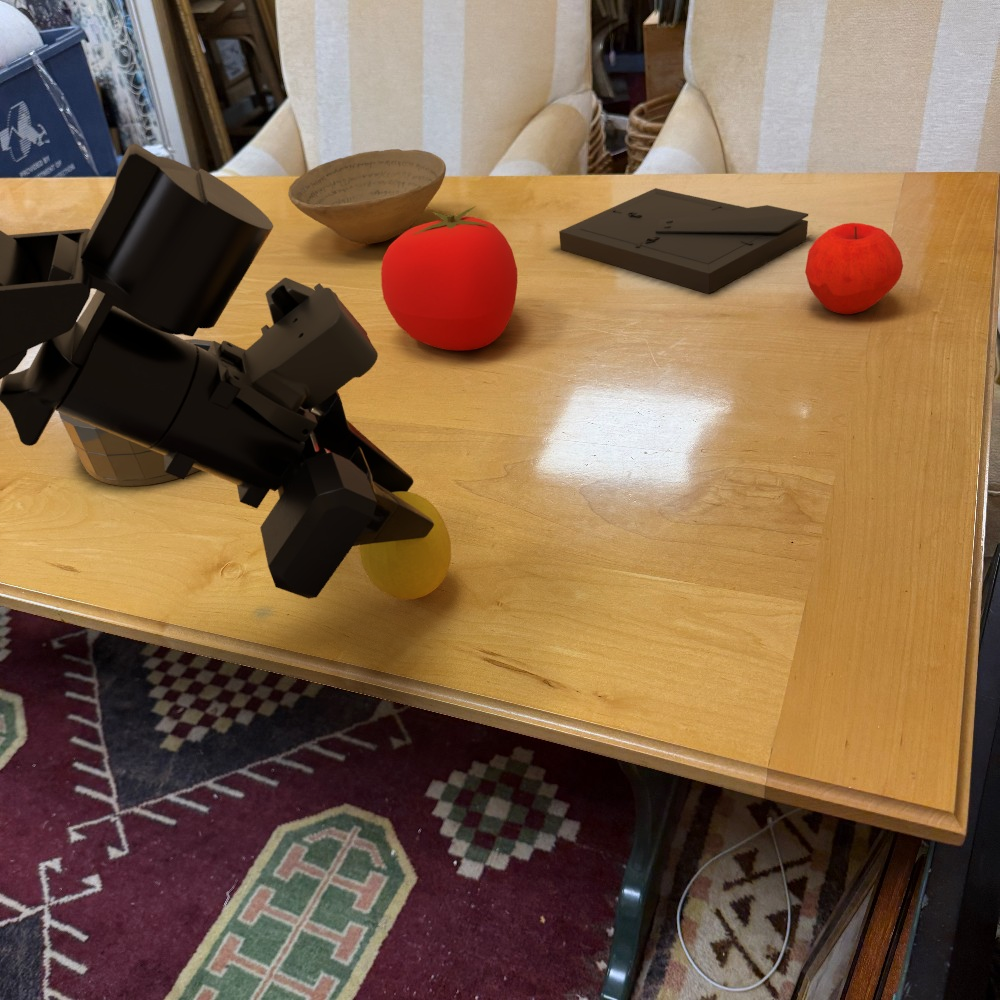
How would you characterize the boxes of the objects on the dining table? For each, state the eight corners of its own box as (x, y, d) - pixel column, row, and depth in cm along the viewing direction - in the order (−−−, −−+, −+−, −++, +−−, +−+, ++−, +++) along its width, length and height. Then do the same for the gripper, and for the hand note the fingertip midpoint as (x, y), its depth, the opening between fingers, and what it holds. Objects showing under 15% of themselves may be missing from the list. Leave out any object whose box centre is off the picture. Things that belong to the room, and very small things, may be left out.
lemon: (474, 575, 59) (455, 475, 54) (433, 634, 55) (410, 531, 50) (401, 559, 61) (377, 461, 56) (357, 614, 57) (327, 514, 52)
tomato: (428, 385, 80) (404, 261, 73) (378, 329, 90) (352, 216, 84) (552, 343, 83) (539, 221, 77) (490, 294, 94) (474, 183, 87)
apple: (915, 306, 80) (928, 225, 76) (851, 336, 78) (861, 253, 73) (844, 280, 86) (853, 203, 82) (782, 307, 83) (788, 228, 79)
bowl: (353, 282, 101) (337, 211, 96) (278, 246, 113) (260, 182, 108) (484, 229, 109) (474, 162, 104) (400, 201, 121) (388, 140, 117)
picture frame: (806, 240, 95) (655, 205, 109) (808, 213, 93) (655, 181, 107) (709, 294, 88) (560, 249, 101) (709, 266, 86) (558, 224, 100)
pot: (70, 502, 72) (40, 444, 69) (98, 412, 84) (74, 359, 80) (254, 462, 73) (233, 404, 70) (256, 380, 85) (239, 326, 82)
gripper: (276, 338, 36) (557, 484, 45) (233, 207, 51) (452, 336, 59) (145, 549, 39) (431, 647, 48) (140, 368, 54) (360, 468, 63)
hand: (419, 507), depth 54 cm, fingers closed on lemon, 4 cm apart
